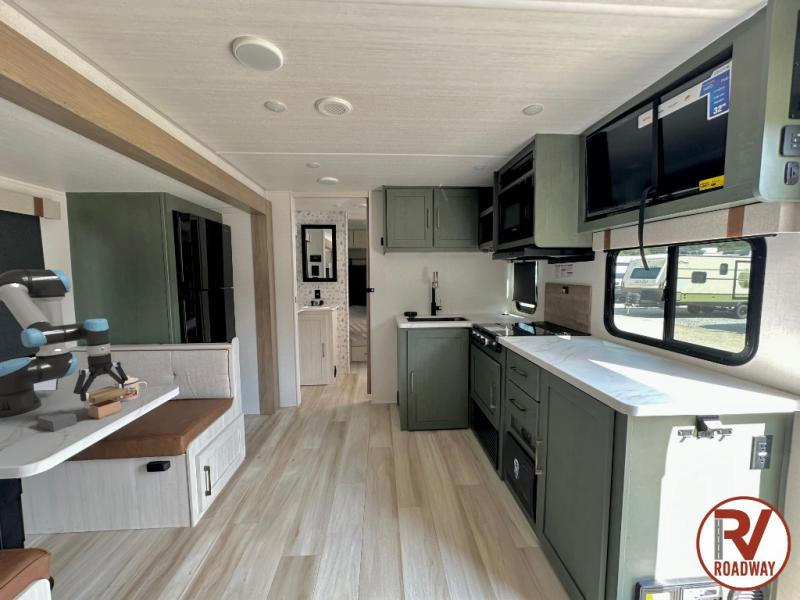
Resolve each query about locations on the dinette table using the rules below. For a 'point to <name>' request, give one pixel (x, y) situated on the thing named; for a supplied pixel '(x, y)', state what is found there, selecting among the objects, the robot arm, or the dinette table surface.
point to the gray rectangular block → (57, 420)
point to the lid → (105, 394)
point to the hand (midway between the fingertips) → (104, 402)
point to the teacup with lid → (131, 389)
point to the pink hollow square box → (104, 409)
